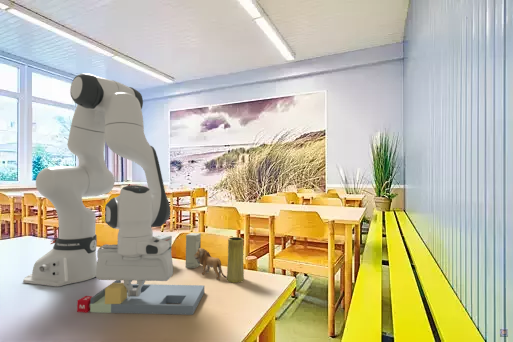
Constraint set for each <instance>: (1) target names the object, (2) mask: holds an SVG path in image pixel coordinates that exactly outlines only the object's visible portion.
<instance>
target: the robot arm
mask: <svg viewBox="0 0 513 342" xmlns="http://www.w3.org/2000/svg"><path fill="white" fill-rule="evenodd" d="M69 91H70V92H69V93H70V97H71V98H72V101H73V102H74V103H75V104H76V108H75V110H74V113H73V115H72V116H73V117H72V119H71V122H70V123H71V125H70V130H69V135H68V140H67V144H66V145H67V147H68V150H69V152H70V153H71V154H73V155H74V156H77V158H78V166H71V165H57V166H50V167H49V166H48V167H45V168H43V169H41V170H40V171H39V173H37V176H36V178H35V188H36V190H37V191H38V194H39V193H40V195H41V196H43V197H44V198H46V199H47V200H49V202H51V204H52V205H53V207H54V208H55V211H56V214H57V220H58V237H56V238H55V239H53V240H50V245H53V244H54V245H53V247H52V249H50V250H49V251H48V252H46V253H45V254H44V255H42V257H40V258H38V259H37V260H36V261H35V263H34V265H33V268H32V273H30V274H29V275H27V276H26V277H24V278H23V281H22V283H23V284H25V283H26V284H32V285H33V284H34V285H42V286H51V287H61V286H66V285H69V284H76V283H79V282H80V283H81V282H84V281H88V280H91V279H93V278H95V277H96V279H97V280H98V281H116V280H121V281H123V283H124V285H125V287H126V289H127V290H128V296H129V297H130V296H133V297H139V296H140V294H141V293H142V292H141V288H142V286H143V284H145V283H146V281H148V282H149V281H150V282H167V281H168V280H169V279H171V277H172V276H173V273H174V264H173V256H172V252H171V253H170V252H169V251H167V250H168V249H169V247H170V243H169V242H168V241H165V240H162V239H159V238H156V237H155V235H154V236H153V229H152V228H160V227H161V226H163V225H164V224H165V223H166V222H167V221H168V220H169V218H170V217H171V207H170V203H169V202H170V201H169V199H168V196H167V193H166V189H165V185H164V180H163V174H162V170H161V166H160V162H159V159H158V155H157V151H156V149H155V148H154V147H153V145H151V144H150V143H149V141H148V140H147V138H146V134H145V131H144V130H145V129H144V118H143V110H142V109H143V106H144V100H143V95H142V94H141V93H140V91H138V90H137V89H136V88H134V87H131V86H127V85H126V84H124V83H121V82H119V81H116V80H113V79H108V78H104V77H101V76H96V75H95V74H92V73H86V72H85V73H84V72H81V73H79V74H77V75H75V77H74V78H73V80H72V82H71V85H70V90H69ZM105 146H107V147H108V149H110V150H111V151H112V152H113V153H114V154H116V155H117V156H118V157H121V158H123V159H126V160H128V161H131V162H133V163H135V164H137V165H138V166H140V167H141V168H142V170H143V171H144V174H145V178H146V184H147V186H144V185H139V184H137V185H136V184H135V185H134V184H133V185H131V184H130V185H125V186H123V187H122V188H121V189H120V192H119V195H117V196H116V197H112V198H111V199H110V200H108V202H107V203H106V204H105V207H104V208H105V210H104V211H105V212H104V217H105V218H104V223H105V224H106V225H108V226H109V227H111V228H112V229H117V230H118V232H117V244H106V243H105V244H103V245H101V246H100V247H99V248H98V249H97V246H98V245H97V244H98V240H97V239H98V238H97V234H96V224H97V223H96V219H97V218H96V217H97V216H96V213H95V211H93V210H92V209H90V208H88V207H86V206H85V205H84V203H83V202H84V201H83V198H87V197H88V198H89V197H90V198H91V197H97V196H99V197H100V196H103V195H106V194H108V193H110V192H112V190H113V188H114V186H115V177H114V174H113V173H112V172H111V170H109V167H108V166H107V163H106V161H105V156H104V155H105V153H104V152H105ZM96 250H97V251H96ZM96 252H97V253H96ZM133 281H136V284H139V286H138V287H137V288H133V286H132V284H133V283H132V282H133Z"/></svg>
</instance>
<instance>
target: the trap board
mask: <svg viewBox="0 0 513 342" xmlns="http://www.w3.org/2000/svg"><path fill="white" fill-rule="evenodd" d="M112 283H122V280H113V282H112ZM131 284H132V286H133V288H137V287H138V286H139V284H137V283H131ZM108 286H109V285H107V286H106V287H104V288H102V289H101V290H99V291H98V292H97V293H95V294H94V295H92V296H93V297H91V301H90V311H89V312H90V313H100V314H101V313H103V314H104V313H106V314H107V313H109V314H113V313H114V314H148V315H149V314H150V315H151V314H153V315H187V316H189V315H191V316H194V314H195V311H196V310H197V308H198V306H199V304H200V301H201V300H202V298H203V296H204V295H205V285H199V284H197V285H196V284H195V285H194V284H193V285H191V284H156V283H155V284H153V283H151V284H147V283H146V284H145V283H144V284H143V286H142V288H141V294H140V296H139V297H133V296H130V297H129V296H128V290H127V298H126V299H125V300H124V301H123V302H122V303H121V304H105V288H107V287H108Z"/></svg>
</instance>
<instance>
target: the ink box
mask: <svg viewBox="0 0 513 342" xmlns="http://www.w3.org/2000/svg"><path fill="white" fill-rule="evenodd" d="M154 237H156V238H159V239H162V240H165V241H168V242H169V243H170V247H169V249H168V250H167V251H169V252H170V253H171V254H172V243H173V242H172V235H169V234H168V235H167V234H160V235H156V236H155V235H154Z"/></svg>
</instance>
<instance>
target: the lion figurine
mask: <svg viewBox="0 0 513 342" xmlns="http://www.w3.org/2000/svg"><path fill="white" fill-rule="evenodd" d="M194 257H195V260H198V261H199V262H200V266H201V265H202V271H203V272H202V273H201V275H202V276H204V275H206V273H210V272H211V270H210V269H211V268H212V269H213V272H214V273H215V274H216V278H215V279H216V281H218V280H220V279H221V276H222V277H223V278H225V279H227V275H225V274H224V273H223V269H222V261H221V259H220V258H219V257H213V256H211V253H209V251H208V250H207V249H205V248H203V247H202V248H199V249H197V252H196V254H195V255H194ZM206 268H207V269H206Z"/></svg>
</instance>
